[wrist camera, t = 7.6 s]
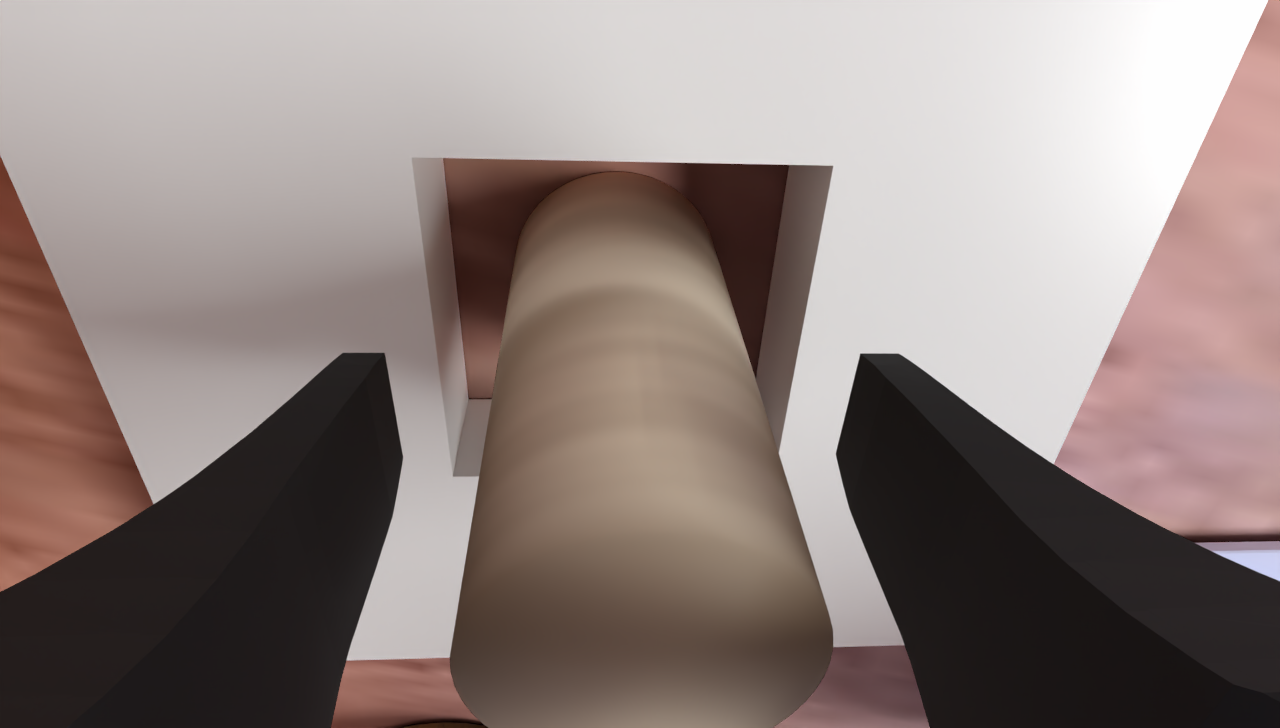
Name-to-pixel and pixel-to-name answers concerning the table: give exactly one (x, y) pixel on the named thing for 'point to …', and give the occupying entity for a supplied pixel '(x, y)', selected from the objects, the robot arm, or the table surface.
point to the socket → (596, 131)
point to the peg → (631, 490)
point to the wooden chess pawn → (446, 725)
